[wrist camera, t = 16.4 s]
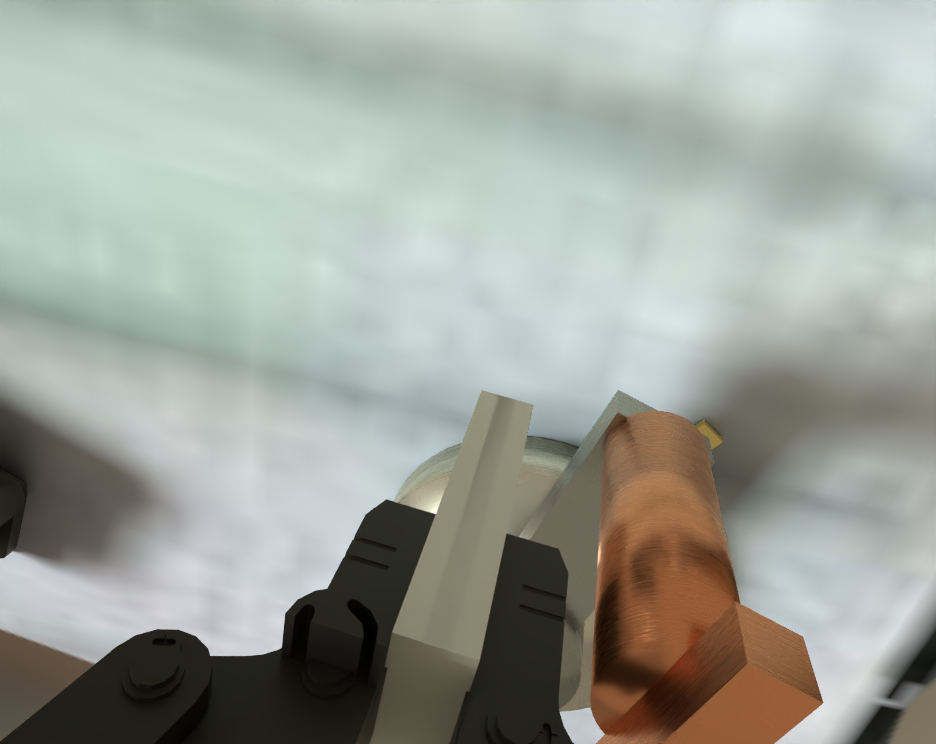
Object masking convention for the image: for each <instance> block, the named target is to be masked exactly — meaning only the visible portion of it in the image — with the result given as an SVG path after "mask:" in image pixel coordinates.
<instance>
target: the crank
mask: <svg viewBox="0 0 936 744" xmlns="http://www.w3.org/2000/svg"><path fill="white" fill-rule="evenodd" d="M714 464H715V462H714V458H713V453H712V449H711V444H710V440H709V437H707V436H705V435H703V434H701V432H700V431H699V430H698V429H697V428H696V427H695V426H694V425H693V424H692V423H691V422H689V421H688V420H686V419H685V418H683V417H681V416H678V415H676V414H673V413H669V412H664V411H657V410H656V409H654V408H652V407H650V406H648V405H646V404H644V403H642V402H640V401H638V400H637V399H635V398H633V397H631V396H629V395H627V394H625V393H623V392H621V391H619V390H618V391H617V392H616V394H615V395H614V397H613V398H612V400H611V401H610V403H609V404H608V406H607V407H606V409H605V410H604V411H603V413H602V414H601V416H600V417H599V419H598V420H597V422H596V423H595V425H594V426H593V428H592V429H591V431H590V432H589V434H588V435H587V437H586V438H585V439H584V441H583V442H582V444H581V445H580V447H579V448H578V450H577V451H576V453H575V454H574V456H573V457H572V459H571V460H570V462H569V463H568V464H567V466H566V467H565V469H564V470H563V472H562V473H561V475H560V476H559V478H558V479H557V481H556V482H555V484H554V485H553V487H552V488H551V490H550V491H549V492H548V494H547V495H546V497H545V498H544V500H543V501H542V503H541V504H540V506H539V507H538V509H537V510H536V512H535V513H534V515H533V516H532V517H531V519H530V520H529V522H528V523H527V525H526V526H525V528H524V529H523V531H522V532H521V534H520V535H519V537H521V538H524V539H527V540H531V541H534V542H538V543H541V544H544V545H548V546H551V547H555V548H558V549H559V551H560V553H561V556H562V558H563V561H564V563H565V566H566V568H567V571H568V573H569V574H568V586H567V598H566V612H565V619H564V623H565V624H564V637H563V650H562V662H561V675H560V687H559V709H560V708H562V707H563V706H565V705H566V704H567V703H568V702H569V701H570V700H571V699H572V698H573V697H574V695H575V694H576V692H577V690H578V688H579V684H580V680H581V667H582V653H583V639H584V625H585V620H586V619H587V618H588V617H589V615H590V614H591V613H592V612H593V611H594V609H595V620H594V639H593V657H592V675H591V694H590V704H591V710H592V714H593V716H594V718H595V721H596V723H597V724H598V726H599V727H600V729H601V730H602V731H603V732H604V733H605V735H604V736H603V737H602V738H601V739H600V740H599V741H598V742H597V743H596V744H774V743H775V742H776V741H778V740H779V739H780V738H781V737H783V736H784V735H785V734H786V733H787V732H789V731H790V730H791V729H792V728H794V727H795V726H796V725H797V724H798V723H800V722H801V721H802V720H803V719H805V718H806V717H807V716H808V715H809V714H811V713H812V712H813V711H814V710H815V709H817V708H818V707H819V706H820V705H822V704H823V700H822V697H821V694H820V691H819V687H818V684H817V681H816V678H815V674H814V671H813V668H812V665H811V661H810V658H809V655H808V652H807V648H806V645H805V642H804V639H803V637H802V636H800V635H798V634H797V633H795V632H793V631H791V630H789V629H787V628H785V627H783V626H781V625H779V624H777V623H776V622H774V621H772V620H770V619H768V618H766V617H764V616H762V615H760V614H758V613H756V612H755V611H753V610H751V609H749V608H747V607H745V606H743V605H741V604H740V600H739V595H738V591H737V586H736V581H735V576H734V572H733V567H732V562H731V557H730V553H729V548H728V543H727V538H726V534H725V529H724V524H723V519H722V515H721V510H720V505H719V500H718V496H717V491H716V486H715V482H714V477H713V472H712V466H713V465H714Z"/></svg>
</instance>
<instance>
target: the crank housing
mask: <svg viewBox="0 0 936 744" xmlns="http://www.w3.org/2000/svg"><path fill="white" fill-rule="evenodd" d="M695 427H696V428H697V429H698V430H699V431H700V432H701V434H703V435H705V436H707V437H709V440H710V444H711V449H714V448H715V447H717V446H718V445H720V444H721V443H723V440H722V437H721V436H720V435H719V434H718V433H717V432H716V431H715V430H714V429H713V428H712V427H711V426H710V425H709V424H708V423H707V422H706V421H705V420H704V419H703V420H701V421H700V422H699V423H697V424H696V425H695ZM461 445H462V443H460V444H458V445H455V446H453V447H450V448H447V449H445V450H444V451H442V452H440V453H438V454H436V455H434V456H433V457H431V458H430V459H428V460H427V461H426V462H424V463H423V464H422V465H420V466H419V467H418V468H417V469H416V470H415V471H414V472H413V473H412V474H411V475H410V476H409V477H408V478H407V480H406V481H405V483H404V484H403V486H402V487H401V489H400V490H399V492H398V494H397V496H396V497H395V499H394V501H393V502H397V503H400V504H403V505H407V506H410V507H413V508H417V509H420V510H424V511H427V512H430V513H434V514H436V513H437V510H438V507H439V504H440V502H441V499H442V496H443V494H444V491H445V488H446V486H447V483H448V480H449V477H450V475H451V472H452V469H453V467H454V464H455V461H456V459H457V456H458V453H459V450H460V448H461ZM577 450H578V448H576V447H573V446H570V445H568V444H565V443H561V442H557V441H553V440H548V439H544V438H537V437H529V436H527V438H526V443H525V448H524V452H523V457H522V462H521V467H520V471H519V476H518V481H517V486H516V490H515V495H514V500H513V505H512V509H511V514H510V519H509V524H508V528H507V534H510V535H514V536H517V537H519V535H520V534H521V532H522V531H523V529H524V528H525V526H526V525H527V523H528V522H529V520H530V519H531V517H532V516H533V515H534V513H535V512H536V510H537V509H538V507H539V506H540V504H541V503H542V501H543V500H544V498H545V497H546V495H547V494H548V492H549V491H550V490H551V488H552V487H553V485H554V484H555V482H556V481H557V479H558V478H559V476H560V475H561V473H562V472H563V470H564V469H565V467H566V466H567V464H568V463H569V462H570V460H571V459H572V457H573V456H574V454H575V453H576V451H577ZM594 620H595V609H594V611H593V612H592V613H591V614H590V615H589V617H588V618H587V619H586V620H585V625H584V639H583V653H582V667H581V680H580V684H579V688H578V690H577V692H576V694H575V695H574V697H573V698H572V699H571V700H570V701H569V702H568V703H567V704H566V705H565V706H563V707H562V708H560V709H559V712H560V711H572V710H579V709H584V708H589V707H591V704H590V694H591V675H592V657H593V639H594Z"/></svg>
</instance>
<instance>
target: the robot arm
mask: <svg viewBox="0 0 936 744" xmlns="http://www.w3.org/2000/svg"><path fill="white" fill-rule="evenodd" d="M532 410H533V405H532V404H528V403H525V402H521V401H517V400H514V399H511V398H507V397H504V396H500V395H497V394H493V393H489V392H486V391H481V394H480V396H479V399H478V402H477V405H476V407H475V410H474V413H473V415H472V418H471V421H470V423H469V426H468V429H467V432H466V434H465V437H464V440H463V442H462V445H461V448H460V450H459V453H458V456H457V459H456V461H455V464H454V467H453V469H452V472H451V475H450V477H449V480H448V483H447V486H446V488H445V491H444V494H443V496H442V499H441V502H440V504H439V507H438V510H437V513H436V514H434V513H430V512H427V511H424V510H420V509H417V508H413V507H410V506H407V505H403V504H400V503H397V502H393V501H390V500H385V501H384V502H382V503H381V504H379V505H378V506H377V507H375V508H374V509H373V510H371V511H370V512H369V513H367V514H366V515H365V517H364V519H363V521H362V523H361V525H360V527H359V529H358V531H357V533H356V535H355V537H354V540H352V542H351V544H350V546H349V548H348V550H347V552H346V555H345V557H344V558H343V560H342V562H341V564H340V565H339V567H338V569H337V571H336V573H335V575H334V577H333V579H332V581H331V583H330V585H329V587H328V589H324V590H317V591H314V592H312V593H310V594H308V595H306V596H304V597H302V598H300V599H298V600H297V601H296V602H295V603H294V605H293V606H292V607H291V608H290V609H289V610H288V611H287V612H286V614H285V623H284V633H283V643H282V648H281V649H279V650H277V651H273V652H270V653H267V654H263V655H255V656H210V654H209V650H208V648H207V647H206V646H205V645H204V644H203V643H202V642H201V641H200V640H199V639H198V638H197V637H196V636H193V635H191V634H188V633H185V632H183V631H180V630H161V629H157V630H154V631H150V632H146V633H143V634H139V635H136V636H134V637H132V638H131V639H129V640H127V641H126V642H124V643H122V644H121V645H119V646H117V647H116V648H114V649H113V650H112V651H111V652H110V653H108V654H107V655H106V656H105V657H103V658H102V659H101V660H100V661H99V662H97V663H96V664H95V665H94V666H92V667H91V668H90V669H89V670H87V671H86V672H85V673H84V674H83V675H81V676H80V677H79V678H78V679H76V680H75V681H74V682H73V683H72V684H70V685H69V686H68V687H67V688H65V689H64V690H63V691H62V692H60V693H59V694H58V695H57V696H56V697H54V698H53V699H52V700H51V701H49V703H47V704H46V705H45V706H43V707H42V708H41V709H40V710H38V711H37V712H36V713H35V714H33V715H32V716H31V717H30V718H29V719H27V720H26V721H25V722H24V723H22V724H21V725H20V726H19V727H18V728H16V729H15V730H14V731H13V732H11V733H10V734H9V735H8V736H7V737H5V738H4V739H3V740H2V741H0V744H574V743H573V742H572V741H571V739H570V737H569V735H568V733H567V732H566V730H565V728H564V726H563V722H562V719H561V716H560V713H559V687H560V675H561V662H562V650H563V637H564V624H565V623H564V619H565V612H566V598H567V586H568V574H569V573H568V571H567V568H566V566H565V563H564V561H563V558H562V556H561V553H560V551H559V549H558V548H555V547H551V546H548V545H544V544H541V543H538V542H534V541H531V540H527V539H524V538H521V537H517V536H514V535H510V534H507V528H508V524H509V519H510V514H511V509H512V505H513V500H514V495H515V490H516V486H517V481H518V476H519V471H520V467H521V462H522V457H523V452H524V448H525V443H526V438H527V433H528V429H529V424H530V419H531V414H532Z"/></svg>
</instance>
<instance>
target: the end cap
mask: <svg viewBox="0 0 936 744" xmlns="http://www.w3.org/2000/svg"><path fill="white" fill-rule="evenodd" d="M26 498H27V487H26V483H25V482H24V481H22V480H20V479H18V478H17V477H15V476H13V475H11V474H9V473H8V472H6V471H4V470H2V469H0V558H5V557H6V556H7V555H8V554H10V553H11V552H12V551H13V550H14V549H15V548H16V546H17V542H18V537H19V532H20V527H21V522H22V518H23V513H24V508H25V503H26Z"/></svg>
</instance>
